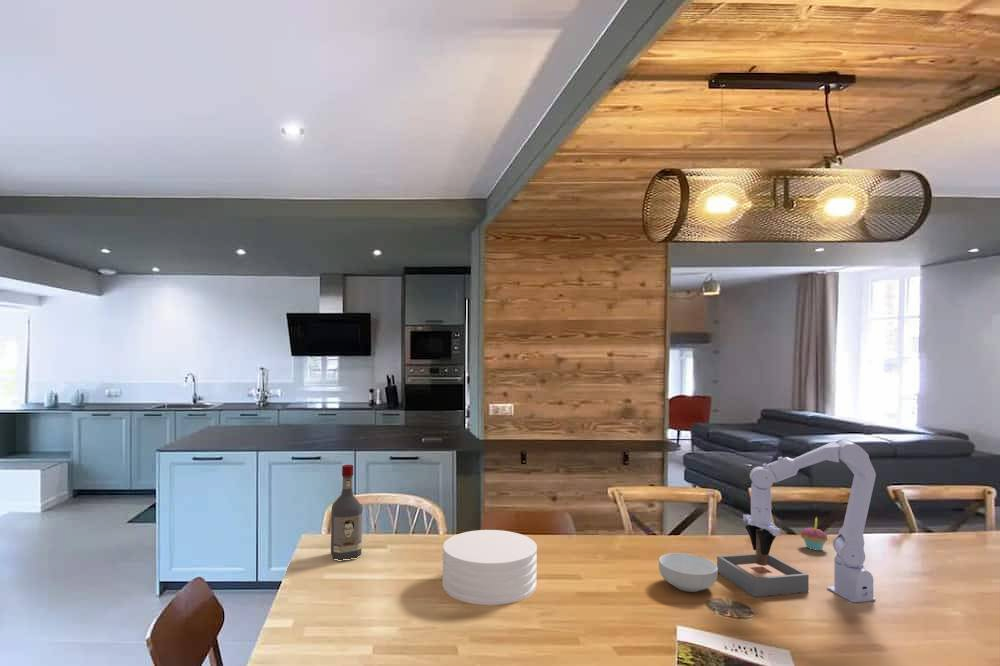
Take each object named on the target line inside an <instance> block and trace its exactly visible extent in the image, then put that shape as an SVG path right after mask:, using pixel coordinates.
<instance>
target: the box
mask: <svg viewBox="0 0 1000 666" xmlns="http://www.w3.org/2000/svg"><path fill="white" fill-rule="evenodd" d="M716 558H717V559H716V565H717V568H718V574H719V573H720V574H719V575H721V576H722V575H723V576H722V577H724V578H725V577H726V578H725V579H727V580H728V581H730V582H731V583H732V584H734V585H736V586H737V587H738V588H740V589H742V590H743V591H744V590H745V592H746V593H748V594H749V595H750V594H751V595H750V596H752V597H753V596H754V598H757V597H756V596H760V597H768V596H767V595H771V596H779V595H778V594H782V595H788V594H787V593H793V594H799V593H798V592H804V593H809V592H808V591H809V590H810V589H809V588H810V587H809V585H810V584H809V581H810V580H809V576H810V575H809V574H808V573H806V572H804V571H802V570H800V569H798V568H797V567H795V566H793V565H791V564H789V563H787V562H785V561H784V560H781V559H780V558H779V557H776V556H774V555H772V554H770V553H769V555H767V565H766V566H762V565H758V564H756V552H755V553H743V554H742V553H741V554H729V555H728V554H727V555H717V556H716Z"/></svg>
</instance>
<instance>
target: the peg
mask: <svg viewBox="0 0 1000 666" xmlns="http://www.w3.org/2000/svg"><path fill="white" fill-rule="evenodd" d="M757 531H763V529H756V550H755V553H756V564H758V565H762V566H766V565H767V555H762V554H761V549H760V540H759V537H758V534H757Z"/></svg>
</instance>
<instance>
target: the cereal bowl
mask: <svg viewBox="0 0 1000 666" xmlns="http://www.w3.org/2000/svg"><path fill="white" fill-rule="evenodd" d="M658 558H659V559H658V570H659V573H660V575H661V577H662V578H663V579H664V580H665V581H666V582H667V583H668V584H669V585H670V584H671V586H674V587H675V589H678V590H680V591H683V592H687V593H688V592H689V593H695V592H699V591H703V590H706V589H709V588H711V587H712V586H714V584H715V583H716V582H717V579H718V574H719V573H718V568H717V563H715V562H714V561H712V560H711V559H708V558H706V557H703V556H700V555H696V554H689V553H683V552H680V553H679V552H673V553H665V554H663V555H661V556H660V557H658Z"/></svg>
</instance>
